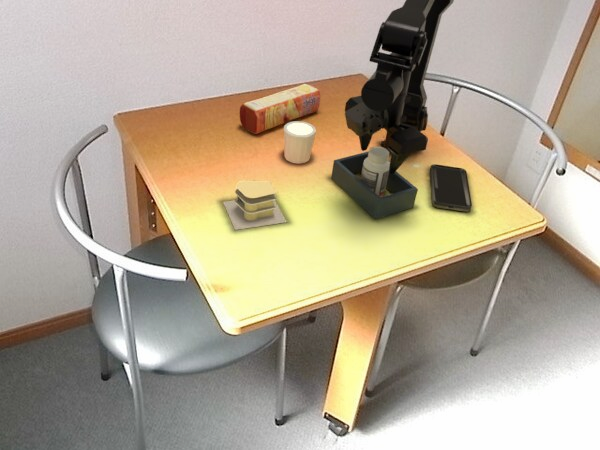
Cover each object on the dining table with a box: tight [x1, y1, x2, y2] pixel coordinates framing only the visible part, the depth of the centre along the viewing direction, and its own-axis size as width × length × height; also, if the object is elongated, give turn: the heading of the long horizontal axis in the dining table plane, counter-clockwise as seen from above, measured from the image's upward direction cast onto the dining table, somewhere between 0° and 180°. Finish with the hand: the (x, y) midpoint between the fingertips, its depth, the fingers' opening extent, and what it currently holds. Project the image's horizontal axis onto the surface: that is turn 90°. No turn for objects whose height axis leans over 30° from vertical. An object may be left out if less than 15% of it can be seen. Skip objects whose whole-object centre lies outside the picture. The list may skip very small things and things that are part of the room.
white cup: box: [283, 120, 317, 165], centre depth 133 cm, size 7×7×7 cm
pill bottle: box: [360, 146, 390, 198], centre depth 123 cm, size 5×5×10 cm
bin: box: [330, 150, 419, 220], centre depth 125 cm, size 10×16×4 cm, turn 32°
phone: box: [429, 163, 473, 213], centre depth 129 cm, size 8×1×15 cm
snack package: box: [239, 83, 321, 135], centre depth 145 cm, size 21×7×7 cm, turn 134°
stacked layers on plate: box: [222, 179, 287, 231], centre depth 116 cm, size 10×9×6 cm
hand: (377, 161), depth 122 cm, fingers open, 9 cm apart
